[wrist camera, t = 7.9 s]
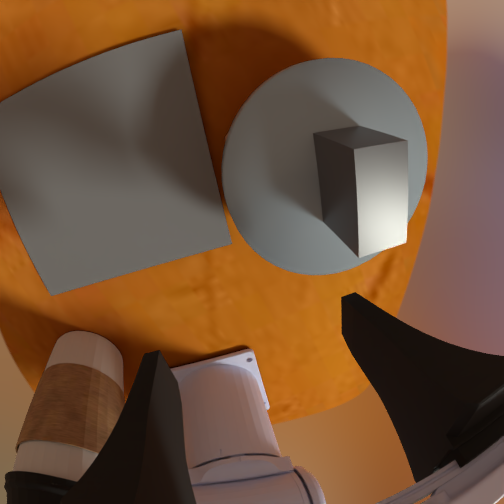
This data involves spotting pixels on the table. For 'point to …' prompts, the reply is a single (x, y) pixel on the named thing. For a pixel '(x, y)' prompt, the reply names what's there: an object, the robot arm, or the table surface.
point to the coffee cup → (67, 418)
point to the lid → (324, 166)
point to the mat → (110, 166)
